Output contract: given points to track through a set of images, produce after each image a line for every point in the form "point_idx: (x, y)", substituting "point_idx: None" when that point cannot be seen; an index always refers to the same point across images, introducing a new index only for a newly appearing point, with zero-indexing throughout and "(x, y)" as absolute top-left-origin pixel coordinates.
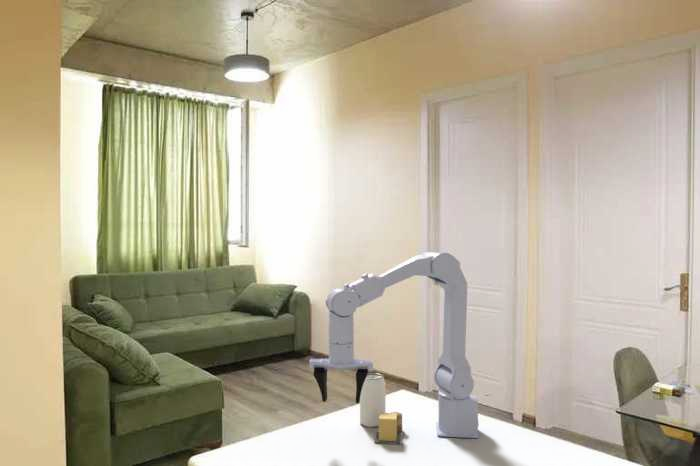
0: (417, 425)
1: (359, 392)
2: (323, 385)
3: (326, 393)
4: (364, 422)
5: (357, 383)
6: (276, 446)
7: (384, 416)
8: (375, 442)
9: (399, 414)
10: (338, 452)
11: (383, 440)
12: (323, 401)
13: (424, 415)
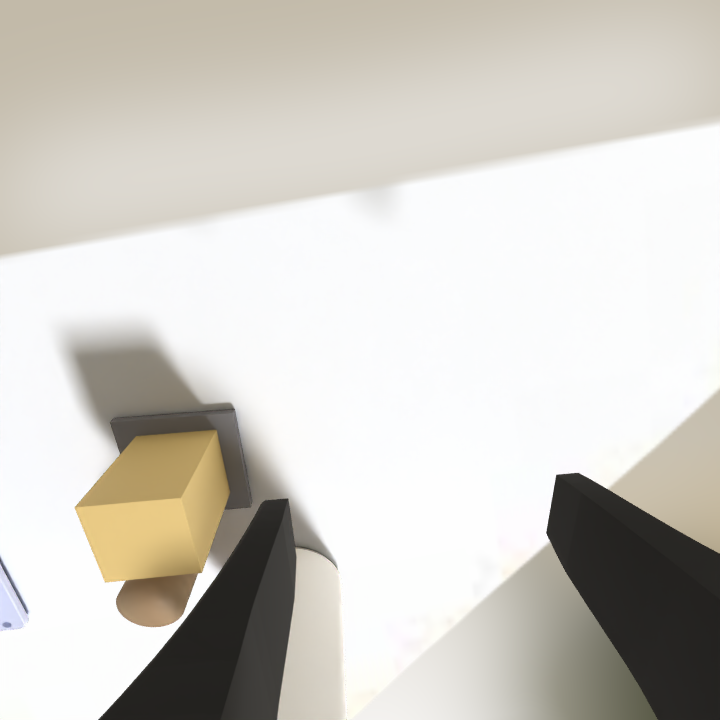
0: (108, 598)
1: (223, 579)
2: (717, 592)
3: (580, 565)
4: (315, 561)
5: (206, 701)
6: (663, 294)
7: (159, 532)
8: (229, 410)
9: (131, 607)
10: (375, 283)
11: (195, 430)
12: (573, 474)
13: (111, 677)
